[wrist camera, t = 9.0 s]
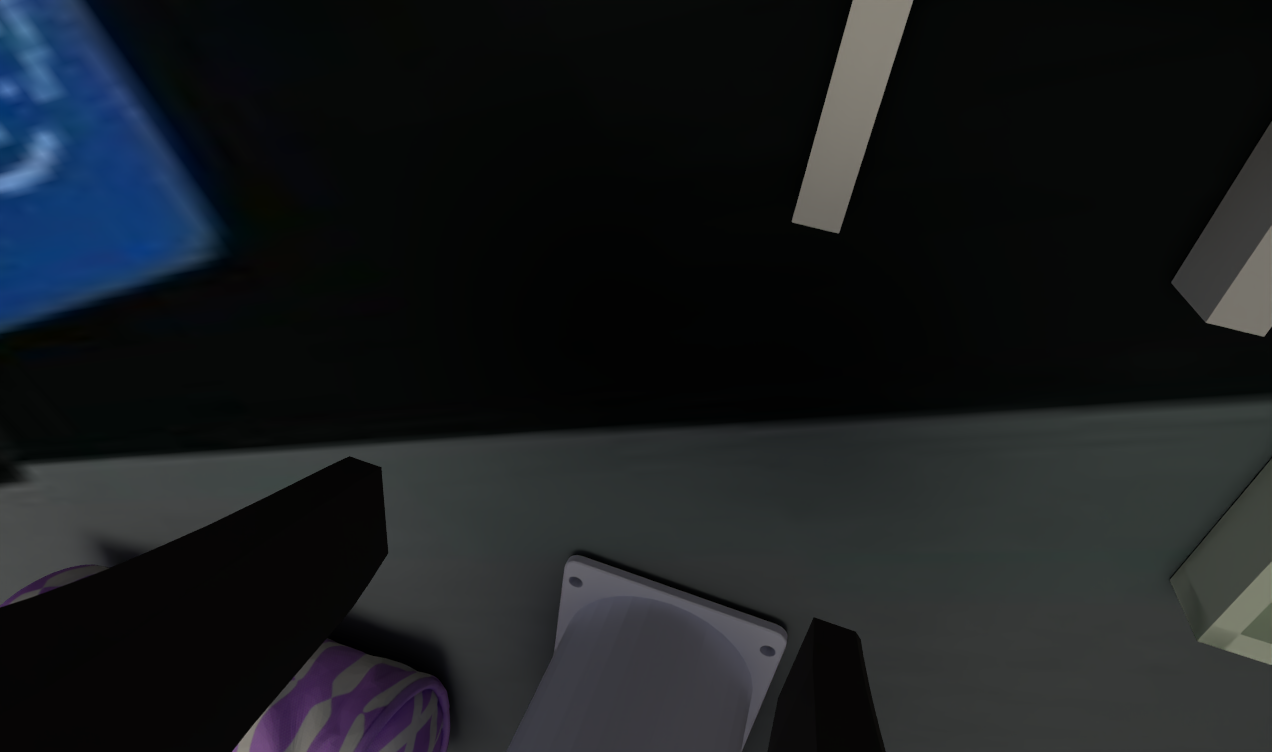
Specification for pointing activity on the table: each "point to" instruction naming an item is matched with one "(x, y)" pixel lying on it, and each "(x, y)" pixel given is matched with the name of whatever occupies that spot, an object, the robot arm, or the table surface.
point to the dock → (1208, 279)
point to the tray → (1233, 577)
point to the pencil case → (332, 699)
